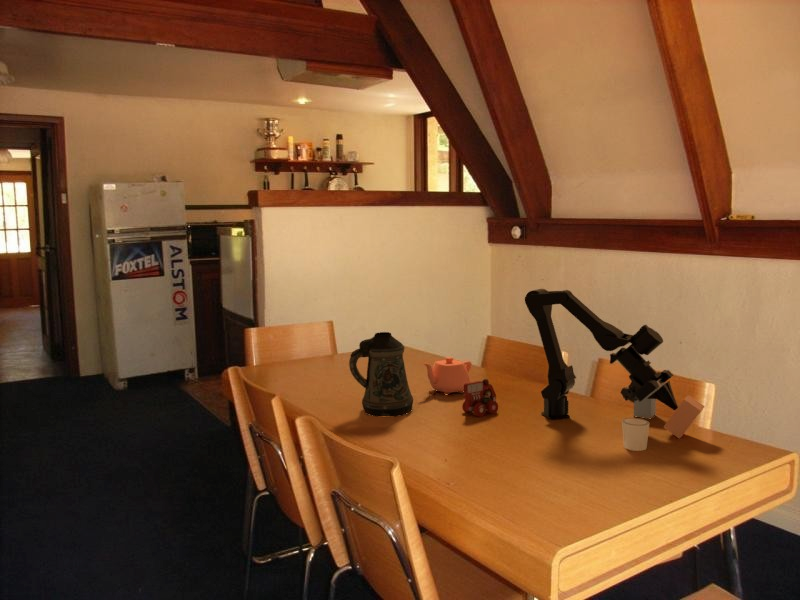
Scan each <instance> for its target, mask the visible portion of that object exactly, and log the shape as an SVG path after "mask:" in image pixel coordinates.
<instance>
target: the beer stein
mask: <svg viewBox="0 0 800 600" xmlns="http://www.w3.org/2000/svg"><path fill="white" fill-rule="evenodd" d="M358 346H359V347H358V348H357V349H355V350H353V351H352V352H351V353H350V358H349V361H348V367H349V371H350V372H351V373H350V374H351V376H353V378H354V379H355V381H356V382H357V383H359V384H360V386H362V387H363V388H364V389H365V391H364V394H363V397H362V399H361V400H362V401H361V404H362V408H363V412H364V413H365V414H366V413H367V415H368V414H370V415H369V416H372V415H373V417H378V416H394V417H399V416H398V415H401V416H404V415H403V414H405V415H407V414H406V413H408V414H410V413H411V412H412V411H413V405H414V397H413V394H412V392H411V389H410V385H409V383H408V378H407V372H406V366H405V361H404V352H405V345H403V343H402V342H400V341H399V340H398V339H396V338H395V337H394V336H392V333H391V332H388V331H382V332H381V331H380V332H375V333H374V336H372V337H370V338H368V339H364V340H363V339H362V340H361V341H360V342H359V345H358ZM361 358H367V359H368V360H367V361H368V362H367V370H366V378H365V377H364V376H363V375H362V373H360V371H359V368H358V366H357V363H358V360H359V359H361ZM411 410H412V411H411ZM410 411H411V412H410ZM409 412H410V413H409Z"/></svg>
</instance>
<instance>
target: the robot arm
mask: <svg viewBox="0 0 800 600" xmlns="http://www.w3.org/2000/svg"><path fill="white" fill-rule="evenodd" d="M524 304H525V305H526V308H527V310H528V311H529V313H530V315H531V316H532V317H533V319H534V320H535V321H536V326H537V330H538V332H539V336H540V339H541V343H542V346H543V350H544V353H545V357H546V360H547V361H546V362H547V364H548V369H547V371H548V372H547V381H548V384H547V386H546V387H545V388H543V389H542V390H541V391H540V393H541V396H542V397H541V398H542V399H543V411H541V415H542V416H544V417H546V418H548V419H549V420H558V419H568V418H570V415H569V400H568V394H569V392H570V390H571V389H573V388H574V386H575V384H576V379H577V376H576V375H575V373H574V367H573V365H572V364H571V365H570V366H568V365H567V363H566V362H565V360H564V357H563V354H562V351H561V347H560V343H559V339H558V335H557V333H556V329H555V325H554V323H553V318H552V307H553V305H562V307H564V309H565V310H567V311H568V313H570V314H571V315H572V316H573V317H574V318H576V319H577V321H579V322H580V323H581V324H582V325H584V326H585V328H586V329H588V331H589V332H590V333H591V335H592V336H593V339H594V340H595V341H596V342H597V344H598V345H599V346H600V347H601V349H602V350H604V351H606V352H612V353H610V354H609V357H610V360H609V364H610V365H613V364H614V363H616V362H618V363H619V364H620V365H621V366H622V367H623V368H624V369H625V370H626V372H627V373H628V374H629V375H628V378H629V380H630V381H631V382H630V384H629V385H628V386H627V387H626V386H624V387H622V388H621V391H620V392H619V393H620V394H621V396H622V398H623V399H624V401H626V402H628V401H630V402H631V403H633V404H634V401H637V400H638V401H639V402H641V401H642V400H643V399H644V398H645V397H647V396H648V395H649V394H650V395H651V396H649V397H648V398H647V399H656V401H659V402H661V403H663V405H666V406H667V407H668V408H670V409H671V410H673V411H676V409H677V408H678V407H679V405H678V404H677V403H678V402H677V400H676V398H675V395H674V391H673V388H672V385H671V381H670V379H671V378H672V377H674V374H673V373H672V372H671V371H670V370H669V369H664V370H662V371H658V372H657V371H656V370H655V369H654V368H653V367H652V366H651V365H650V364H652V362H651V361H650V360H649V359H648V360H646V359H645V358H644V357H643V355H645V356H649V355H651V353H652V352H654V351H655V350H656V349H657V348H658V347H660V346H661V344H663V343H664V339H663V337H662V335H661V334H659V333H660V332H658V331H656V330H655V329H654V328H651V327H649V326H648V325H647V324H643V325H642V326H641V327H639V330H638V331H637V332H635V333H634V334H630V333H624V332H623V331H622V330H621V329H619V328H618V327H616V326H614V325H613V324H611V323H609V322H606V321H605V320H603V319H601V318H600V317H599V316H598V315H597V314H596V313H594V312H593V311H592V310H591V309H590V308H589V307H588V306H587V305H585V303H583V302H582V301H581V300H580V299H579V298H578V297H576V296H575V295H574V294H573V293H572V291H570V290H568V289H564V290H550V291H548V290H547V289H545V288H536V289H533V290H530V291H528V292H527V293H526V295H525V296H524ZM629 344H630V345H629ZM627 345H628V347H626V348H625V346H627ZM619 348H620V349H619ZM617 349H619V350H617ZM616 350H617V352H615V353H614V352H613V351H616Z"/></svg>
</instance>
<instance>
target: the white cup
mask: <svg viewBox="0 0 800 600" xmlns="http://www.w3.org/2000/svg"><path fill="white" fill-rule="evenodd" d="M650 425H651V424H650V422H649V421H648V419H643V418H636V417H629V418H627V417H626V418H624V419H622V420H621V426H622V427H621V428H622V438H623V439H622V440H623V441H622V442H623V448H624V449H626V450H629V451H634V452H636V451H637V452H641V451H645V450H646V449H647V447H648V441H649V440H648V439H649V431H650Z"/></svg>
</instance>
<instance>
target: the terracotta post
mask: <svg viewBox="0 0 800 600" xmlns="http://www.w3.org/2000/svg"><path fill="white" fill-rule="evenodd" d="M705 407H706V406H705V405H704V404H702V403H701V402H699V401H698V400H697V399H695V398H694V397H692V396H690V395H689V394H688V395H687V396H685V397H684V399H683V400H682V401H681V402H680V404H679V405H678V408H677V409H676V410H674V412H673V413H672V414H671V416H670V417H669V419H668V420H667V421H666V423H665V424H664V426H663V428H664V429H665V430H666V431H668V432H670V433H671V434H672V435H674V436H675V437H676V438H678V439H679V440H680V439H681V438H682V437H683V435H684V434H685V433H686V432H687V430H688V429H689V428H690V427H691V425H692V424H693V423H694V421H696V419H697V418H698V416H699V415H700V414H701V412H702V411H703V409H704V408H705Z"/></svg>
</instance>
